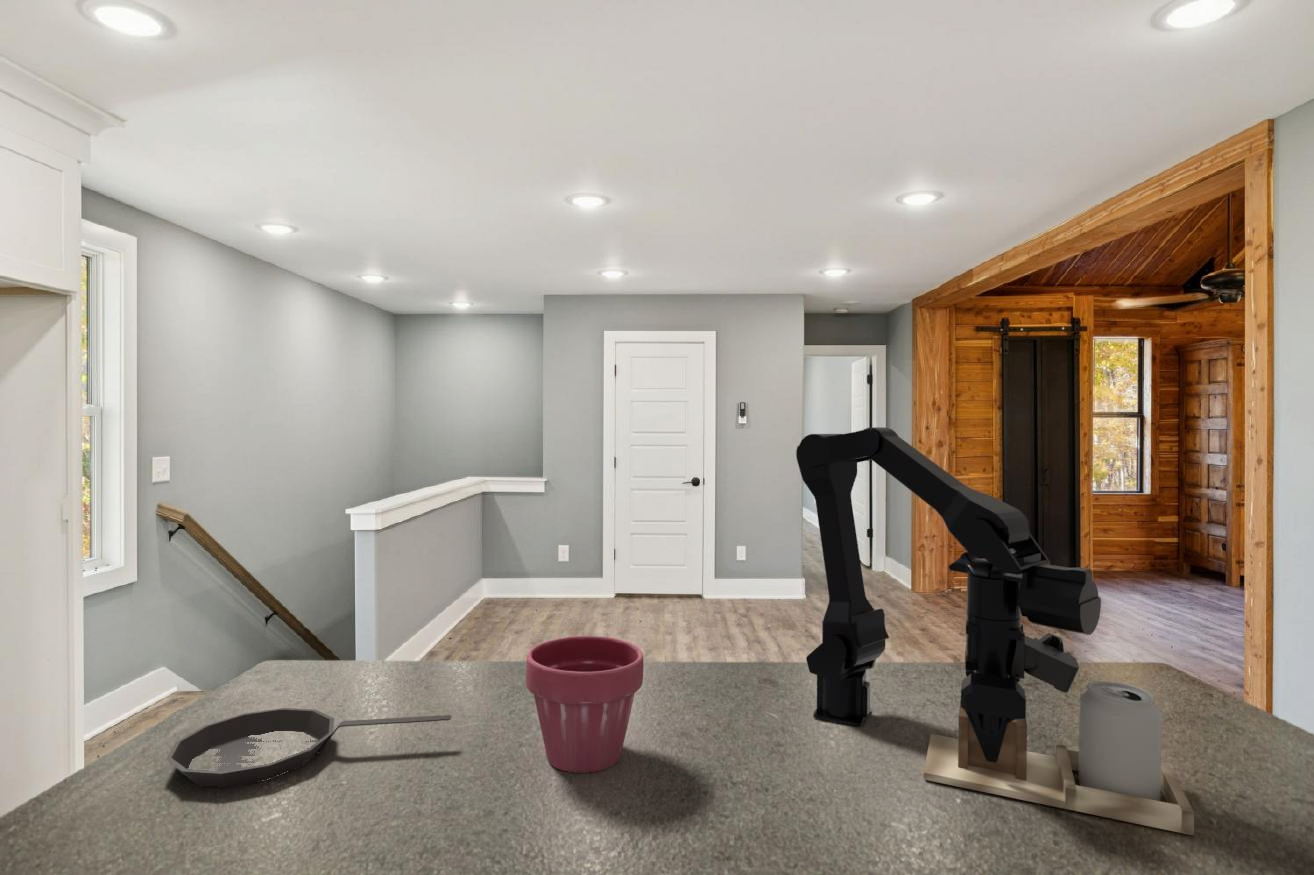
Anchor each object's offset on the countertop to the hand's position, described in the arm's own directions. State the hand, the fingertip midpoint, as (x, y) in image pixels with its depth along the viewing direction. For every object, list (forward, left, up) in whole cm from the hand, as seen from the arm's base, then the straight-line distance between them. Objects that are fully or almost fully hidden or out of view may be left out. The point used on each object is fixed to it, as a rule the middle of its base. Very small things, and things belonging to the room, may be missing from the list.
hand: (991, 747), depth 82 cm
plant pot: (-45, -17, -3) cm, 48 cm away
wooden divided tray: (+5, 0, -3) cm, 6 cm away
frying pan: (-75, -31, -4) cm, 81 cm away
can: (+13, 0, -3) cm, 13 cm away
